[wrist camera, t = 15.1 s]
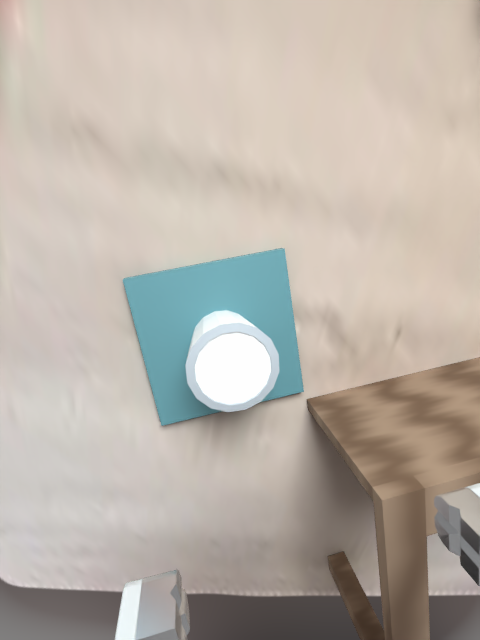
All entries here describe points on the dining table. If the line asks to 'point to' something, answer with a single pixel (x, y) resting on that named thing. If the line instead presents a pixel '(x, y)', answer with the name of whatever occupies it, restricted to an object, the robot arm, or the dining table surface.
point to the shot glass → (230, 362)
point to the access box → (403, 480)
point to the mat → (199, 301)
